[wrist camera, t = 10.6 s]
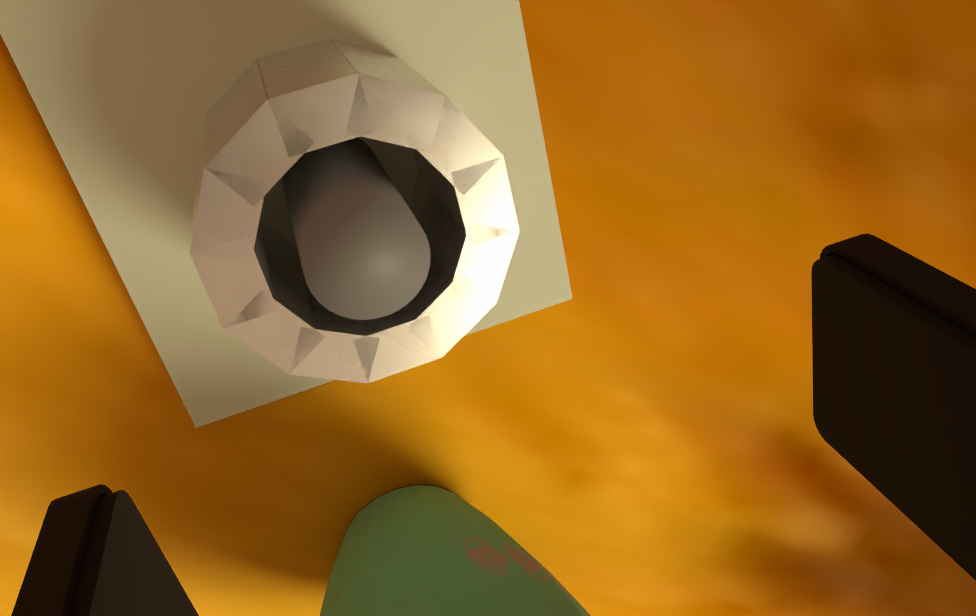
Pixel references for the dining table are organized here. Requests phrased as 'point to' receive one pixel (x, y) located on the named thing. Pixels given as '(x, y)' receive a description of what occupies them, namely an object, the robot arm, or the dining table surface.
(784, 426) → the dining table surface
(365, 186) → the square base peg stand
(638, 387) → the dining table surface
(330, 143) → the white hollow cylinder
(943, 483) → the robot arm
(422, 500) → the mug
